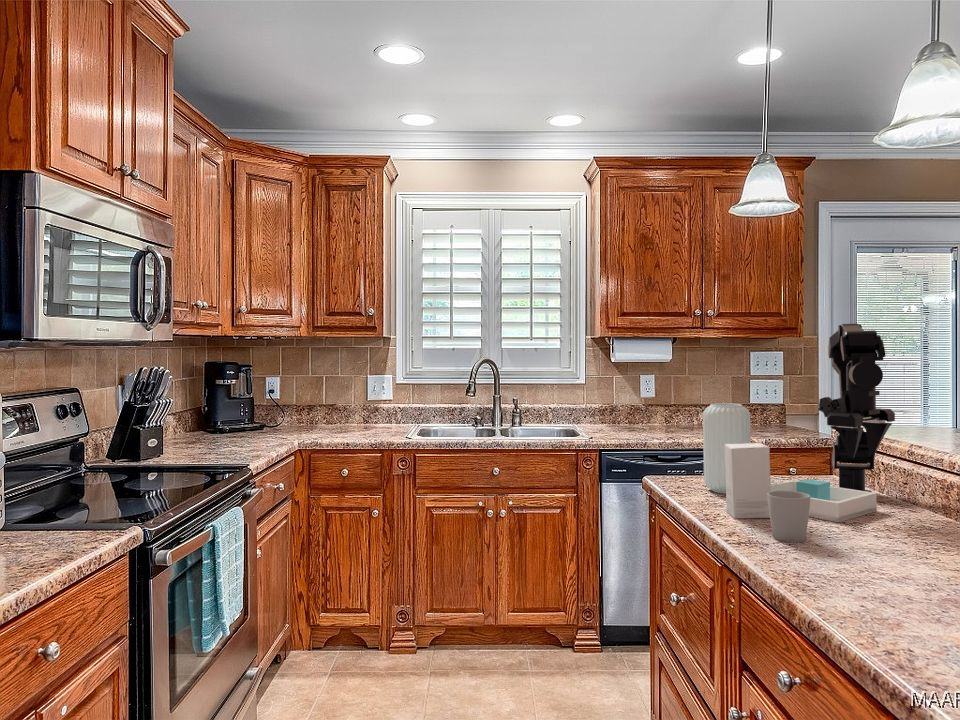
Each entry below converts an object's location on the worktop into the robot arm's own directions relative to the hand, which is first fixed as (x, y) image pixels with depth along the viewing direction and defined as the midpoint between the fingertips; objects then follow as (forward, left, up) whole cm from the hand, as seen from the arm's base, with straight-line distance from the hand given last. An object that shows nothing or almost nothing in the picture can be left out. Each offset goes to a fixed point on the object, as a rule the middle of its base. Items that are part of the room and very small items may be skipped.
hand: (861, 455), depth 154 cm
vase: (+6, -31, -12) cm, 34 cm away
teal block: (+8, -7, -11) cm, 15 cm away
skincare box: (+25, -12, -12) cm, 30 cm away
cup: (+34, +3, -12) cm, 36 cm away
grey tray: (+8, -7, -12) cm, 16 cm away
